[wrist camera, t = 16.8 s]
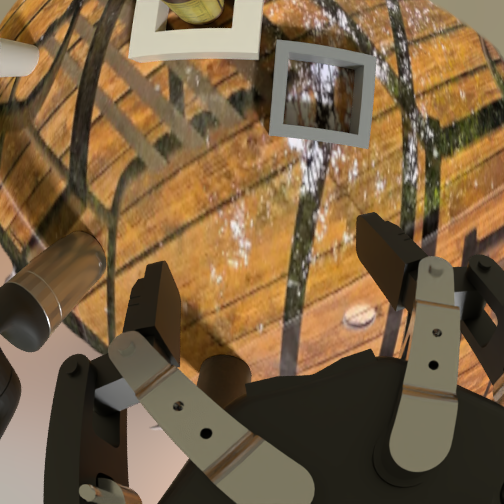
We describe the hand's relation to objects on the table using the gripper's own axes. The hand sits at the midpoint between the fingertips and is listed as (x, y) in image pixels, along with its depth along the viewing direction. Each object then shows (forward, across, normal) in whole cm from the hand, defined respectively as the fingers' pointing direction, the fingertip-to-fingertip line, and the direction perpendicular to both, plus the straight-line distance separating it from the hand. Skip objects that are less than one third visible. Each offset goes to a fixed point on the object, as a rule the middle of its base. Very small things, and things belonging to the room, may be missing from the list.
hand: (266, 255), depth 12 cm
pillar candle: (+23, +9, +41) cm, 48 cm away
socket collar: (+33, -1, -18) cm, 37 cm away
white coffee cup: (+39, +29, -22) cm, 53 cm away
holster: (+28, -13, -2) cm, 31 cm away
